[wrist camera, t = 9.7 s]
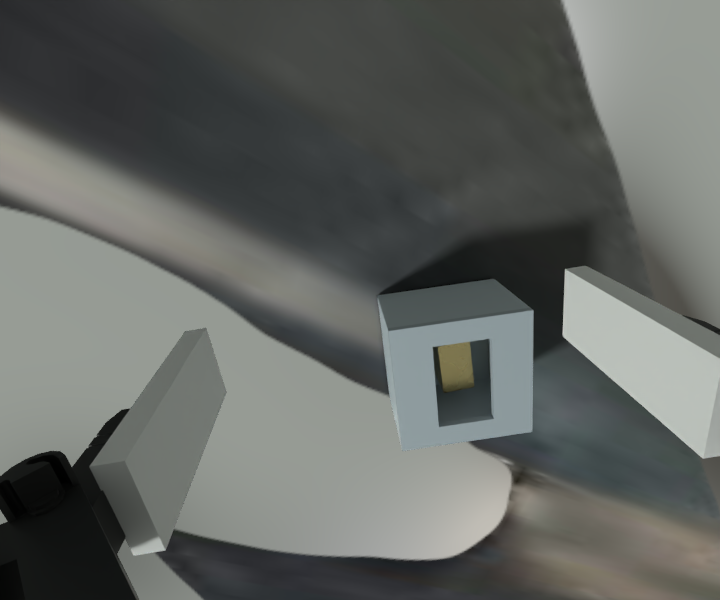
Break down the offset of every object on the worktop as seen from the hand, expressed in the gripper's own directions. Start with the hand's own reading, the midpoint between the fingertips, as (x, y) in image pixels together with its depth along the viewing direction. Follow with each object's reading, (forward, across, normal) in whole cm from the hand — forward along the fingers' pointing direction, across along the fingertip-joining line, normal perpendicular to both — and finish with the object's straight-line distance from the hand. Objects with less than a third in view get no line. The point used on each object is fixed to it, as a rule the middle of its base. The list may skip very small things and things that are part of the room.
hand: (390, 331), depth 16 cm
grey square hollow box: (+26, +7, -15) cm, 31 cm away
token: (+25, +7, -15) cm, 30 cm away
